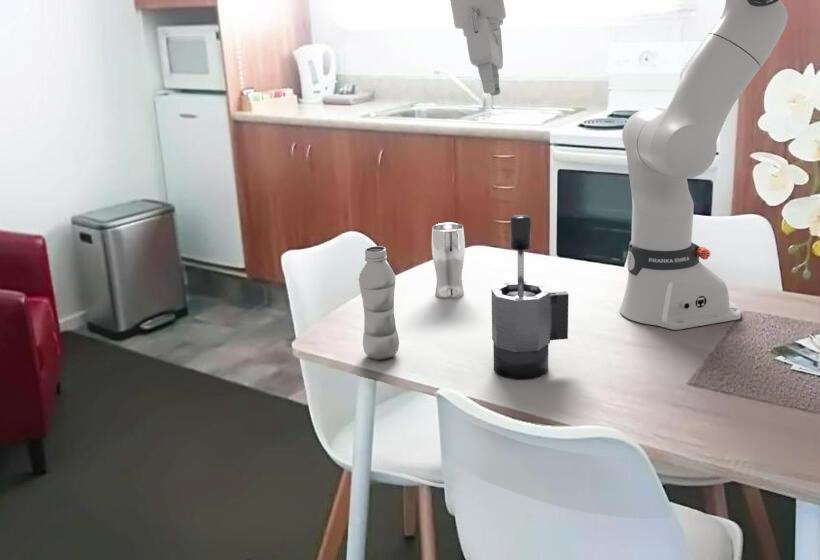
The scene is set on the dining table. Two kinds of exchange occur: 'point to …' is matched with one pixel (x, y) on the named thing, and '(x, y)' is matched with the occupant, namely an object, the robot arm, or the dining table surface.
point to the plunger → (520, 249)
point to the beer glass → (448, 259)
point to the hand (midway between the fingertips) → (492, 94)
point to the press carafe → (526, 329)
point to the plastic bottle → (378, 305)
